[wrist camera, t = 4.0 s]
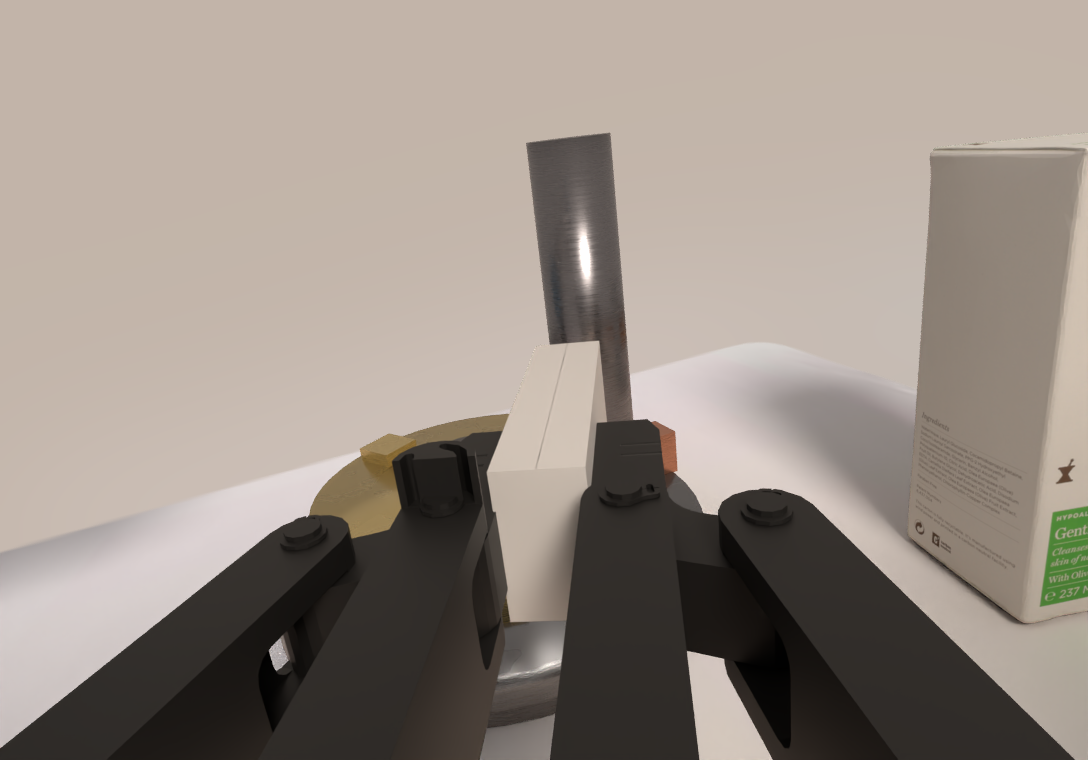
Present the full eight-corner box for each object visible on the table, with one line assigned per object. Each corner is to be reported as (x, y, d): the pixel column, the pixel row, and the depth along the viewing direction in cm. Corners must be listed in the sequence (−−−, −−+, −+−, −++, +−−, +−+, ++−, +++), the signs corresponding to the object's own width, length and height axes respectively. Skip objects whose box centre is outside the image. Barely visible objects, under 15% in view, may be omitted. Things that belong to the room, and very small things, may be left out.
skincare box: (1020, 632, 24) (1080, 148, 19) (895, 533, 30) (915, 147, 25) (1232, 581, 25) (1342, 111, 20) (1070, 496, 31) (1123, 119, 26)
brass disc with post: (249, 564, 29) (140, 189, 25) (473, 432, 40) (427, 150, 35) (524, 687, 21) (442, 157, 16) (716, 481, 32) (702, 119, 27)
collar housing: (187, 637, 29) (149, 524, 27) (461, 452, 43) (447, 370, 41) (581, 822, 19) (561, 664, 18) (768, 506, 33) (767, 401, 32)
